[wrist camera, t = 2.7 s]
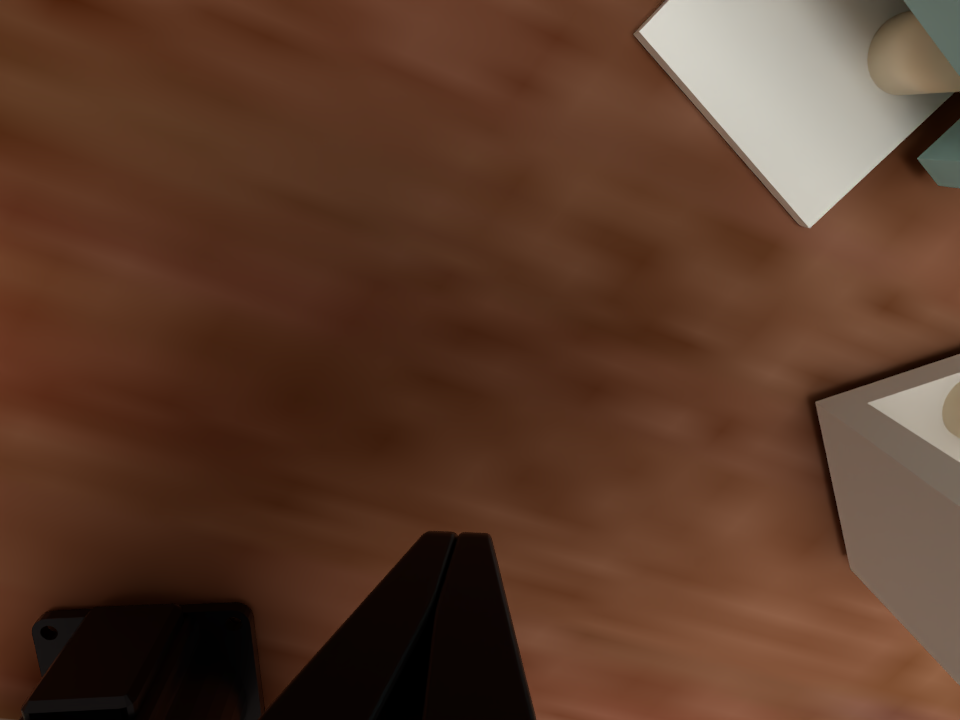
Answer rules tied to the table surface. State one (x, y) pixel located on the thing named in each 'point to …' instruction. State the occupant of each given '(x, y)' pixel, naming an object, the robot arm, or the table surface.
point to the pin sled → (903, 496)
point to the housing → (956, 31)
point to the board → (803, 85)
